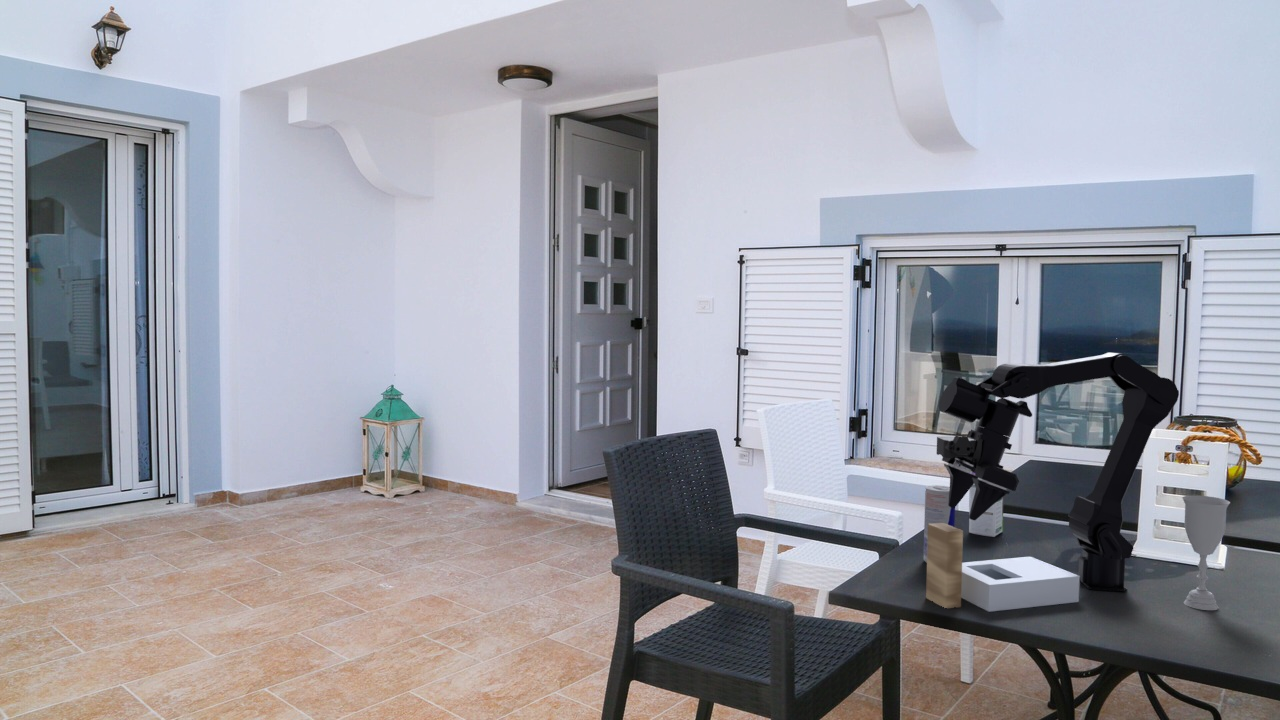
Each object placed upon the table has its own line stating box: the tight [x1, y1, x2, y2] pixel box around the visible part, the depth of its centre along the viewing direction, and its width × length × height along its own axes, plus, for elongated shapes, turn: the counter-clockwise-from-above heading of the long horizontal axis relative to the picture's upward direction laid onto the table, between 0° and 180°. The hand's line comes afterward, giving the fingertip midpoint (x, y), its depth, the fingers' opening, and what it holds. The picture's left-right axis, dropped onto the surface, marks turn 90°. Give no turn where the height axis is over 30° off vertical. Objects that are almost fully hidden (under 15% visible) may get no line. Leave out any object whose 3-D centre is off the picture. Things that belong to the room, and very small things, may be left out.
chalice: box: [1181, 495, 1231, 611], centre depth 149 cm, size 7×7×18 cm
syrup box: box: [968, 471, 1004, 538], centre depth 196 cm, size 6×6×14 cm
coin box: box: [961, 556, 1080, 613], centre depth 154 cm, size 18×12×4 cm, turn 106°
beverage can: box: [923, 485, 956, 564], centre depth 173 cm, size 6×6×15 cm
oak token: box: [925, 523, 964, 609], centre depth 150 cm, size 3×6×13 cm, turn 16°
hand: (961, 513), depth 158 cm, fingers open, 9 cm apart
